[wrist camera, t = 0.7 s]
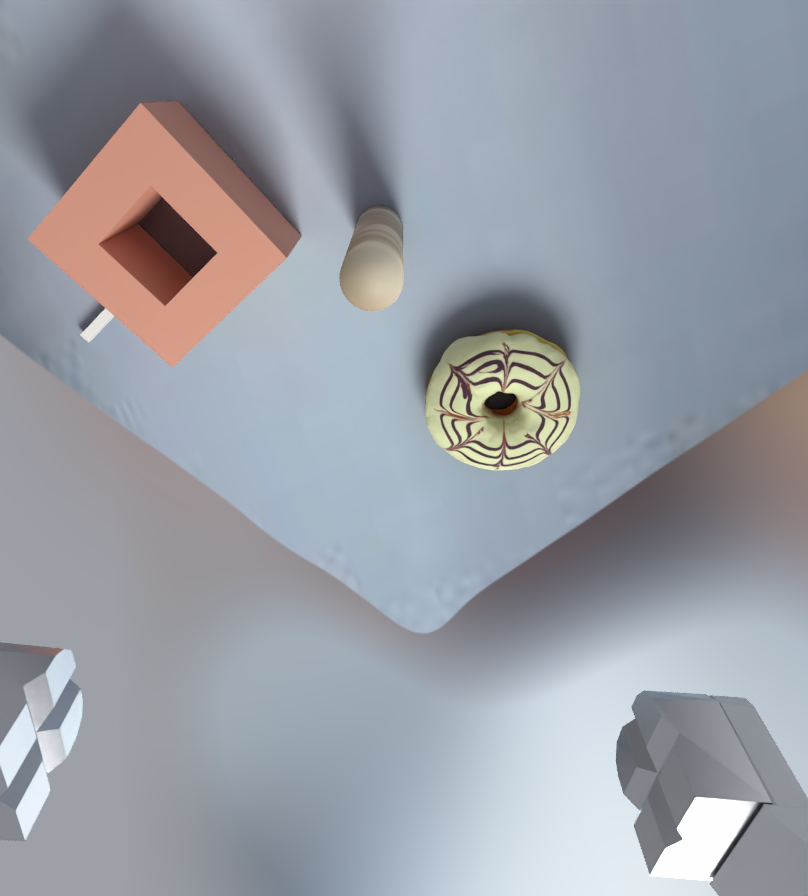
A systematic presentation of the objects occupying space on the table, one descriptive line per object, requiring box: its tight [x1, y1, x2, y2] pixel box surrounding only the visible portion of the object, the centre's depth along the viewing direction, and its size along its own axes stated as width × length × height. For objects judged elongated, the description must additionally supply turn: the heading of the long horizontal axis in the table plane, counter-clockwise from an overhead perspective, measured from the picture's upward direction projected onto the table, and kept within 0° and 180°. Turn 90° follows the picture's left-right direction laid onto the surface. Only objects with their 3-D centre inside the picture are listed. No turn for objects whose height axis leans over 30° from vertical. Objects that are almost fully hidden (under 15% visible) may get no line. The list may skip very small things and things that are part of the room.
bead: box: [28, 101, 301, 367], centre depth 37 cm, size 10×10×6 cm
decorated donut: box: [425, 329, 580, 470], centre depth 44 cm, size 10×11×4 cm
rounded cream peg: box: [340, 205, 403, 311], centre depth 35 cm, size 3×3×12 cm
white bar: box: [81, 308, 114, 342], centre depth 42 cm, size 6×1×1 cm, turn 131°
